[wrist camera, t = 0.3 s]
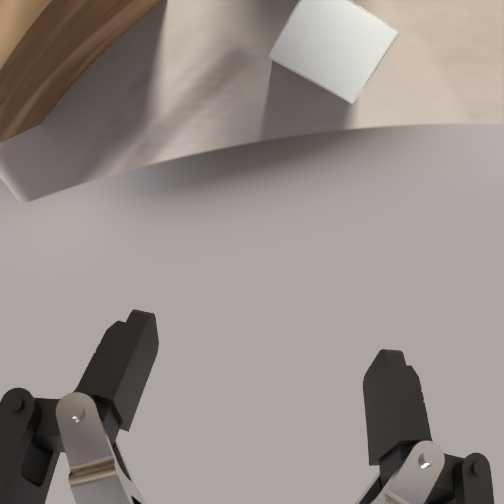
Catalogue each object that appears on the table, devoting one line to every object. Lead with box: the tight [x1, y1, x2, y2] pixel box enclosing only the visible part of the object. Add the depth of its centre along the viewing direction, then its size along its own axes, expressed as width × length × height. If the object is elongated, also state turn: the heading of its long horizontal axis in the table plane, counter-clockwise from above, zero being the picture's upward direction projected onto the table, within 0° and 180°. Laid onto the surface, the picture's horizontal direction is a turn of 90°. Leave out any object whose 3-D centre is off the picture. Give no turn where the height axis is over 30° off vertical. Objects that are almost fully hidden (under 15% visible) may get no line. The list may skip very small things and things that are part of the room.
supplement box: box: [268, 0, 399, 104], centre depth 23 cm, size 7×7×13 cm
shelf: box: [0, 0, 162, 143], centre depth 21 cm, size 16×25×17 cm, turn 123°
